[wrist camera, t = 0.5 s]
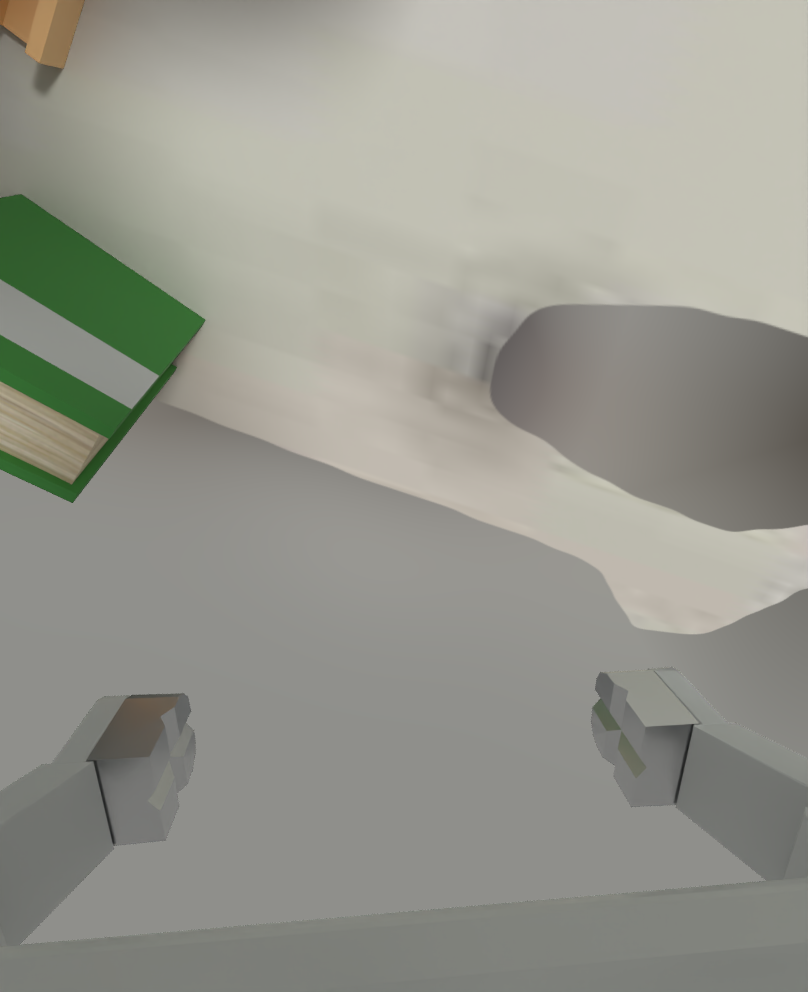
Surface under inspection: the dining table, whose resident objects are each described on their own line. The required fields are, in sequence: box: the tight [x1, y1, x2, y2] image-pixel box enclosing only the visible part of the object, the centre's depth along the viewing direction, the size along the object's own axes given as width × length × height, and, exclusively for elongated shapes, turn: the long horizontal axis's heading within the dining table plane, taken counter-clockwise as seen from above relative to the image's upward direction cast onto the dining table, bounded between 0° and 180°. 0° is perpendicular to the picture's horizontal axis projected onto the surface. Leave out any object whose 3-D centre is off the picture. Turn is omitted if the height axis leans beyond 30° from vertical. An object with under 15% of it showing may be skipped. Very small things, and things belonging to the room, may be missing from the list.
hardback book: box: [0, 194, 205, 503], centre depth 41 cm, size 18×7×24 cm, turn 50°
